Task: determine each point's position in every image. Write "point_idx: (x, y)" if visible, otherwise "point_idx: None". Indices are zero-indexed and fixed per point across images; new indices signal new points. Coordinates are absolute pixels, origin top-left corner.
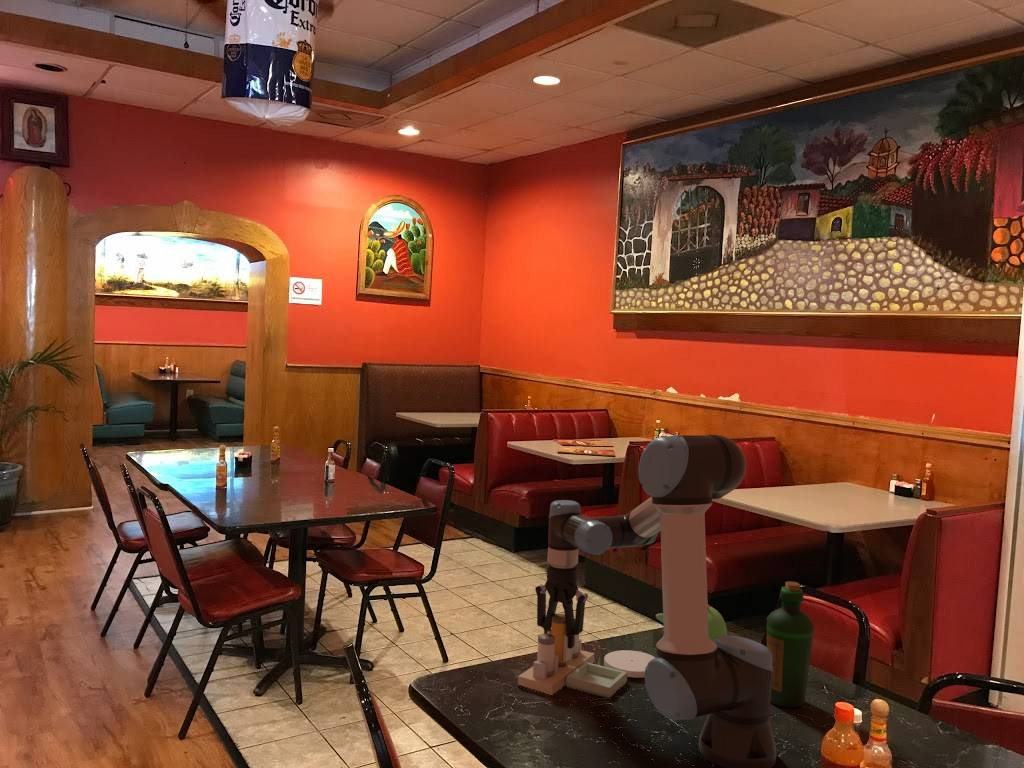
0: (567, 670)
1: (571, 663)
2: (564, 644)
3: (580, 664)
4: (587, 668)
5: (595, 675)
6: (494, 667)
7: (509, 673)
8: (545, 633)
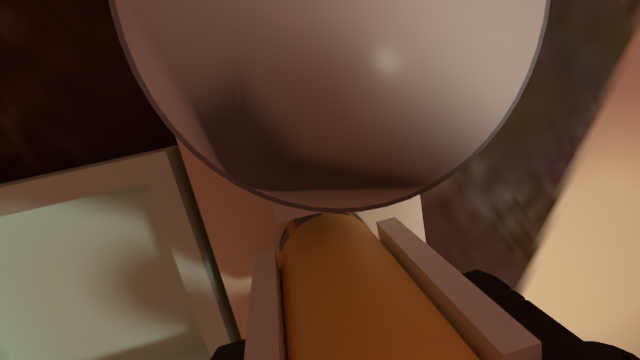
0: (228, 225)
1: None
2: (268, 332)
3: None
4: None
5: (162, 340)
6: (574, 62)
7: None
8: (538, 325)
